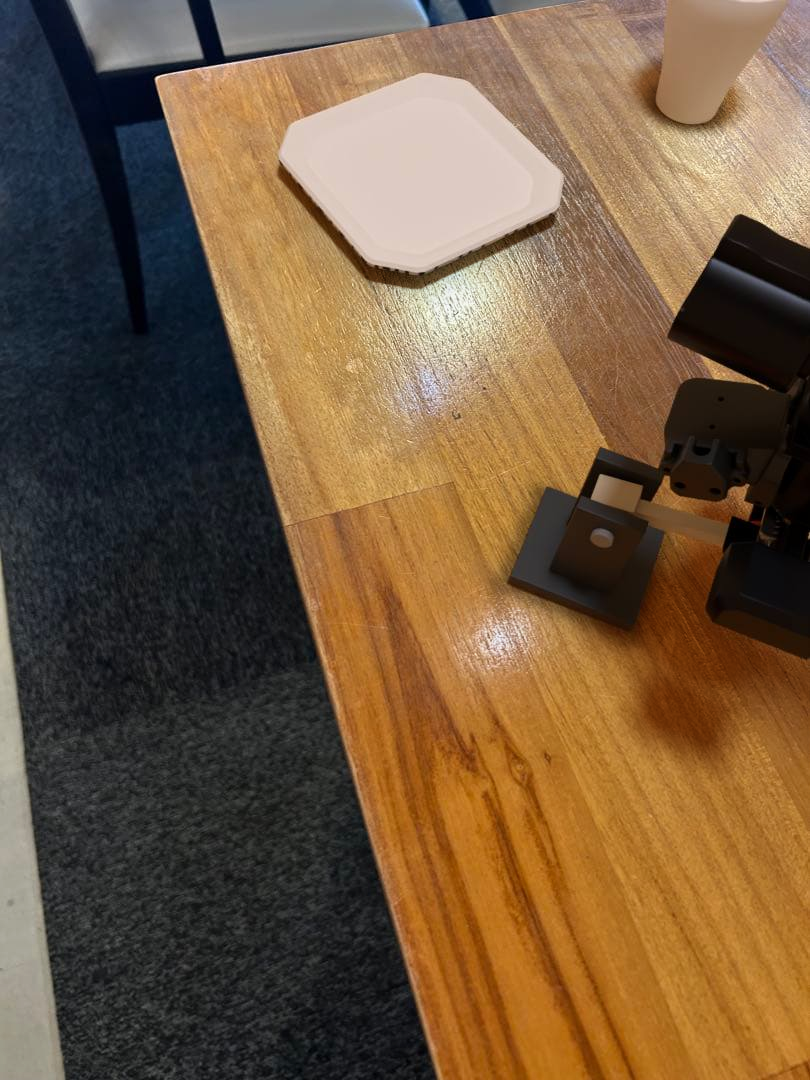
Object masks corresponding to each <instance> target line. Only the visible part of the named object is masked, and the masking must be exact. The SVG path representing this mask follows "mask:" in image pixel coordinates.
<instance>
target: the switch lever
mask: <svg viewBox="0 0 810 1080" xmlns="http://www.w3.org/2000/svg"><path fill="white" fill-rule="evenodd" d="M642 489H643V486H642V485H638V484H634V483H631V482H627V481H624V480H620V479H617V478H613V477H610V476H606V475H602V474H600V475H599V478H598V481H597V483H596V486H595V489H594V491H593V494H592V496H591V499H592V500H595V501H597V502H600V503H603V504H605V505H608V506H610V507H613V508H616V509H618V510H621V511H623V512H626V513H629V514H631V515H634V516H636V517H639V518H642V519H644V520H647V521H649V523H648V525H650V526H652V527H655V528H658V529H660V530H663V531H667V532H670V533H674V534H677V535H681V536H684V537H688V538H691V539H693V540H698V541H701V542H704V543H708V544H712V545H714V546H718V547H722V548H723V544H724V541H725V537H726V534H727V530H728V527H729V523H725V522H722V521H718V520H715V519H711V518H708V517H704V516H700V515H697V514H694V513H691V512H687V511H683V510H680V509H676V508H673V507H670V506H666V505H663V504H659V503H655V502H652V501H651V502H648V501H645V500H641V499H640V498H641V493H642ZM751 523H754V524H756V525H759V526H760V524H761V521H752V522H751Z"/></svg>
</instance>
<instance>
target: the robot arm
mask: <svg viewBox="0 0 810 1080" xmlns="http://www.w3.org/2000/svg"><path fill="white" fill-rule="evenodd" d="M666 339H667V340H669V341H671V342H673V343H675V344H677V345H679V346H681V347H683V348H685V349H687V350H690V351H692V352H694V353H696V354H698V355H700V356H702V357H704V358H706V359H709V360H710V361H713V362H715V363H717V364H719V365H721V366H722V367H724V368H727V369H729V370H731V371H734V372H735V373H738V374H740V375H741V376H743V377H746V378H747V379H750V380H752V381H754V382H757V383H752V382H743V381H734V380H725V379H718V378H717V379H715V378H706V377H692V378H691V377H690V378H688V379H686V380H684V381H683V382H681V383H680V384H679V385H678V387H677V390H676V393H675V396H674V399H673V401H672V404H671V407H670V409H669V413H668V416H667V419H666V421H665V424H664V427H663V438H664V440H663V441H664V442H663V443H664V450H663V451H662V455H661V459H660V461H659V465H658V467H657V468H658V471H659V472H660V473H661V474H663V475H665V477H669V488H670V491H672V492H673V493H674V494H675V495H677V496H679V497H682V498H688V499H692V500H693V499H694V500H699V501H706V502H711V503H718V502H722V501H724V500H726V499H727V497H728V493H729V490H730V489H732V488H736V487H737V488H741V487H742V488H743V487H745V486H746V485H748V487H747V489H746V491H745V496H744V500H743V501H744V502H745V503H748V504H750V505H752V507H751V511H750V513H749V516H748V519H747V520H746V519H743V518H740V517H738V516H735V515H731V517H730V520H729V523H728V524H729V527H728V530H727V534H726V537H725V541H724V544H723V547H722V549H721V553H722V556H721V559H720V561H719V563H718V565H717V567H716V569H715V572H714V576H713V580H712V582H711V586H710V589H709V592H708V596H707V600H706V604H705V607H704V611H705V613H706V615H707V617H708V618H709V620H710V622H711V623H712V624H715V625H717V626H720V627H722V628H725V629H727V630H729V631H732V632H734V633H738V634H740V635H742V636H744V637H746V638H749V639H752V640H755V641H757V642H760V643H762V644H765V645H767V646H770V647H772V648H775V649H777V650H780V651H782V652H785V653H787V654H790V655H792V656H795V657H797V658H799V659H802V660H805V661H808V660H810V248H809V247H808V246H805V245H803V244H801V243H799V242H796V241H794V240H792V239H789V238H787V237H785V236H783V235H781V234H779V233H778V232H776V231H774V230H773V229H772V228H770V226H768V225H766V224H765V223H763V222H761V221H758V220H756V219H754V218H751V217H749V216H748V215H745V214H743V213H739V214H736V215H734V217H733V219H732V220H731V222H730V223H729V225H728V227H727V228H726V230H725V231H724V233H723V235H722V237H721V238H720V240H719V242H718V244H717V247H716V248H715V250H714V251H713V253H712V254H711V257H710V258H709V259H708V261H707V263H706V265H705V266H704V268H703V270H702V271H701V273H700V275H699V276H698V278H697V280H696V281H695V283H694V284H693V286H692V288H691V290H690V291H689V293H688V294H687V296H686V298H685V299H684V301H683V302H682V304H681V306H680V308H679V309H678V311H677V313H676V315H675V317H674V320H673V321H672V323H671V326H670V328H669V331H668V332H667V336H666ZM767 388H768V389H767ZM752 521H761V524H760V526H759V525H756V524H754V523H751V522H752Z"/></svg>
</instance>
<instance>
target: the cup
mask: <svg viewBox="0 0 810 1080" xmlns="http://www.w3.org/2000/svg"><path fill="white" fill-rule="evenodd" d="M789 1H790V0H667V2H666V10H665V17H664V31H663V33H664V34H663V38H664V39H663V52H662V61H661V62H662V63H661V72H660V77H659V80H658V85H657V90H656V94H655V104H656V106H657V107H658V110H659V111H660V112H661V113H662V114H663V115H664V116H666V117H667V118H668V119H671V120H672V121H674V122H677V123H680V124H685V125H700V124H704V123H707V122H709V121H711V120H712V119H713V118H714V117H715V116H716V114H717V113H718V111H719V109H720V107H721V105H722V103H723V101H724V99H725V97H726V95H727V93H729V91H730V89H731V88H732V86H733V85H734V84H735V82H736V80H737V79H738V77H739V76H740V75H741V73H742V71H743V70H744V69H745V68H746V66H747V65H748V64H749V63H750V62H751V60H752V59H753V58H754V57H755V55H756V54H757V52H758V51H759V50H760V48H762V47H761V46H762V45H763V44H764V42H765V41H766V39H767V38H768V36H769V35H770V33H771V32H772V30H773V28H774V27H775V26H776V23H777V22H778V21H779V19H780V18H781V16H782V15H783V12H784V11H785V9H786V7H787V5H788V2H789Z"/></svg>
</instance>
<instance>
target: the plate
mask: <svg viewBox="0 0 810 1080" xmlns="http://www.w3.org/2000/svg"><path fill="white" fill-rule="evenodd" d="M277 159H278V162H279V164H280V166H281V167H283V169H284V170H285V171H286V172H287V173H288V175H290V177H291V178H292V179H293V181H295V183H296V184H297V185H298V186H299V187H300V189H302V191H303V193H305V194H306V196H307V197H308V198H309V199H310V200H311V202H313V204H314V205H315V206H316V207H317V209H318V210H319V211H320V212H321V213H322V214H323V215H324V217H325V218H326V219H327V220H328V221H329V223H331V225H332V226H333V227H334V229H336V231H337V232H338V233H339V234H340V235H341V237H342V238H343V239H344V240H345V241H346V243H348V245H349V246H350V247H351V248H352V249H353V250H354V252H355V253H356V254H357V255H358V256H359V257H360V259H361V260H362V261H363V262H364V264H366V265H368V266H370V268H371V267H372V268H375V269H380V270H384V271H385V270H386V271H391V272H395V273H401V274H406V275H412V276H424V275H427V274H428V273H429V274H430V273H431V272H433V271H435V270H437V269H439V268H442V267H444V266H447V265H448V264H450V263H453V262H455V261H457V260H458V259H461V258H463V257H466V256H467V255H470V254H471V253H474V252H476V251H478V250H480V249H482V248H484V247H487V246H489V245H491V244H493V243H495V242H497V241H499V240H501V239H504V238H506V237H509V236H510V235H513V234H515V233H517V232H519V231H520V230H523V229H525V228H527V227H529V226H531V225H534V224H536V223H538V222H540V221H542V220H544V219H547V218H548V217H551V216H553V215H555V214H556V213H557V212H558V210H559V209H560V206H561V200H562V193H563V187H564V181H565V176H564V174H563V172H562V171H561V170H560V169H559V168H558V167H557V166H556V165H555V164H554V163H553V162H552V161H551V160H550V159H549V158H548V157H547V156H546V155H545V154H544V153H543V152H542V151H540V149H539V148H537V146H535V145H534V144H533V143H532V142H531V141H530V140H529V138H527V137H526V136H525V135H524V133H522V132H521V131H520V130H519V129H518V128H517V127H516V126H515V125H514V124H513V123H512V122H511V121H510V120H509V119H507V117H506V116H505V115H504V114H503V113H501V112H500V110H499V109H498V108H497V107H495V106H494V105H493V104H492V103H491V101H489V100H488V99H487V98H486V97H485V96H484V95H483V93H481V92H480V91H479V90H478V89H477V88H476V87H475V86H474V85H473V84H472V83H470V82H469V81H468V80H467V79H466V80H465V79H463V78H457V77H452V76H447V75H441V74H435V73H430V72H419V73H417V74H415V75H412V76H409V77H407V78H405V79H401V80H399V81H397V82H394V83H391V84H388V85H386V86H383V87H380V88H378V89H376V90H373V91H370V92H367V93H365V94H362V95H360V96H357V97H355V98H352V99H349V100H347V101H344V102H342V103H339V104H337V105H334V106H331V107H329V108H325V109H324V110H321V111H318V112H315V113H313V114H310V115H308V116H305V117H303V118H300V119H298V120H295V121H293V122H291V123H290V125H288V126H287V128H286V131H285V134H284V136H283V139H282V141H281V144H280V147H279V150H278V152H277Z"/></svg>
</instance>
